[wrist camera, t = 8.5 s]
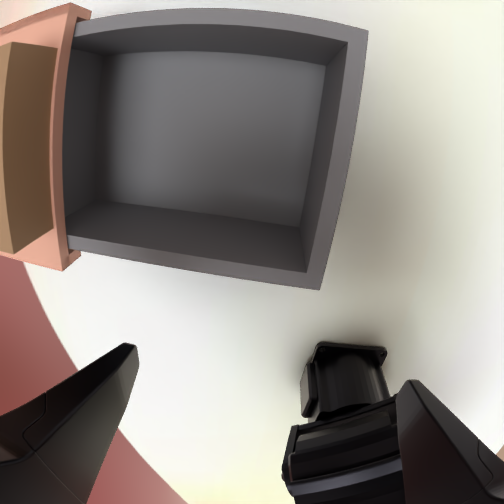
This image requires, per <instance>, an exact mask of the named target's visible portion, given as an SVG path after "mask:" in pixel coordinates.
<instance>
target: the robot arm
mask: <svg viewBox="0 0 504 504" xmlns="http://www.w3.org/2000/svg"><path fill="white" fill-rule="evenodd" d="M321 348H324V349H321ZM380 353H382V354H380ZM386 356H387V350H386V349H385V348H382V347H368V346H355V345H344V344H333V343H324V342H323V343H319V344H317V346H316V348H315V351H314V354H313V357H312V360H311V362H309V363H307V364H306V367H305V370H304V373H303V375H302V378H301V381H300V391H301V415H302V416H303V417H304V418H308V423H307V424H303V425H294V426H292V427H291V431H290V434H289V438H288V442H287V447H286V451H285V455H284V460H283V464H282V475H281V476H282V480H283V481H285V484H286V487H287V489H288V491H289V493H290V495H291V496H292V497H294V500H295V504H504V462H503V461H502V460H501V459H500V458H499V457H498V456H497V455H495V454H494V453H493V452H492V451H491V450H490V449H489V448H488V447H487V446H486V445H485V444H484V443H483V442H482V441H481V440H480V439H478V437H477V436H476V435H475V434H474V433H472V432H471V431H470V430H469V429H468V428H467V427H466V426H465V425H464V424H463V423H462V422H461V421H460V420H459V419H458V418H457V417H456V416H455V415H454V414H453V413H452V412H451V411H450V410H449V409H448V408H447V407H446V406H445V405H444V404H443V403H442V402H441V401H440V400H439V399H438V398H437V397H436V396H434V395H433V394H432V393H431V392H430V391H429V390H428V389H427V388H426V387H425V386H424V385H423V384H422V383H421V382H420V381H419V380H407V381H406V382H405V383H404V385H403V386H402V388H401V390H400V391H399V393H397V394H395V395H394V396H392V397H390V394H389V391H388V387H387V384H386V381H385V378H384V374H383V371H382V368H381V366H382V364H383V362H384V360H385V358H386ZM138 369H139V358H138V351H137V347H136V345H134V344H130V343H122V344H121V345H119V346H118V347H116V348H114V349H113V350H111V351H110V352H108V353H106V354H105V355H103V356H102V357H100V358H99V359H97V360H95V361H94V362H92V363H91V364H89V365H87V366H86V367H84V368H83V369H81V370H79V371H78V372H76V373H75V374H73V375H72V376H70V377H68V378H67V379H65V380H64V381H62V382H61V383H59V384H57V385H56V386H54V387H53V388H51V389H49V390H47V391H46V393H45V392H44V393H42V394H41V395H39V396H38V397H36V398H34V399H33V400H31V401H29V402H27V403H26V404H24V405H22V406H20V407H18V408H16V409H14V410H12V411H10V412H8V413H6V414H3V415H1V416H0V504H86V503H87V501H88V498H89V495H90V493H91V490H92V488H93V485H94V483H95V480H96V477H97V475H98V473H99V470H100V468H101V466H102V463H103V461H104V458H105V456H106V453H107V451H108V449H109V446H110V444H111V442H112V439H113V437H114V435H115V432H116V430H117V428H118V426H119V423H120V421H121V419H122V416H123V414H124V412H125V409H126V407H127V404H128V401H129V398H130V395H131V391H132V388H133V385H134V382H135V378H136V375H137V372H138Z"/></svg>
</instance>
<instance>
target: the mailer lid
mask: <svg viewBox="0 0 504 504" xmlns="http://www.w3.org/2000/svg"><path fill="white" fill-rule="evenodd" d="M91 12H92V11H90V10H88V9H85V8H83V7H80V6H78V5H76V4H73V3H67V4H64V5H61V6H57V7H54V8H51V9H48V10H45V11H42V12H40V13H37V14H34V15H31V16H29V17H26V18H24V19H21V20H19V21H16V22H14V23H12V24H9V25H7V26H5V27H3V28H0V255H2V256H6V257H9V258H13V259H16V260H20V261H24V262H28V263H31V264H35V265H39V266H43V267H47V268H51V269H55V270H59V271H64V270H65V269H66V268H67V267H68V266H69V265H71V264H72V263H73V262H74V261H75V260H76V259H78V258H79V257H80V256H81V252H80V251H79V250H74V249H69V248H68V245H67V236H66V227H65V215H64V201H63V180H62V134H63V113H64V99H65V89H66V79H67V71H68V64H69V57H70V50H71V45H72V39H73V34H74V29H75V24H76V23H78V22H82V21H87V20H90V17H91Z"/></svg>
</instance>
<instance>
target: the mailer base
mask: <svg viewBox="0 0 504 504" xmlns="http://www.w3.org/2000/svg"><path fill="white" fill-rule="evenodd" d="M367 41H368V30H364V29H360V28H357V27H353V26H349V25H345V24H340V23H336V22H331V21H327V20H322V19H316V18H311V17H305V16H299V15H293V14H285V13H278V12H269V11H259V10H246V9H227V8H185V9H166V10H153V11H143V12H134V13H127V14H120V15H113V16H108V17H102V18H97V19H92V20H87V21H82V22H78V23H76V24H75V29H74V34H73V39H72V45H71V50H70V57H69V64H68V71H67V79H66V89H65V99H64V113H63V134H62V180H63V201H64V215H65V227H66V236H67V245H68V248H69V249H74V250H79V251H84V252H89V253H94V254H100V255H105V256H110V257H116V258H121V259H127V260H132V261H138V262H143V263H149V264H155V265H160V266H166V267H172V268H178V269H184V270H190V271H196V272H202V273H208V274H214V275H220V276H226V277H233V278H239V279H245V280H252V281H258V282H265V283H272V284H279V285H285V286H292V287H299V288H306V289H313V290H320V287H321V283H322V279H323V276H324V272H325V268H326V264H327V260H328V256H329V252H330V248H331V244H332V240H333V236H334V232H335V227H336V223H337V219H338V214H339V210H340V205H341V201H342V196H343V191H344V186H345V182H346V177H347V172H348V167H349V161H350V156H351V151H352V145H353V140H354V134H355V128H356V122H357V116H358V110H359V103H360V97H361V90H362V83H363V75H364V67H365V59H366V50H367Z"/></svg>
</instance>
